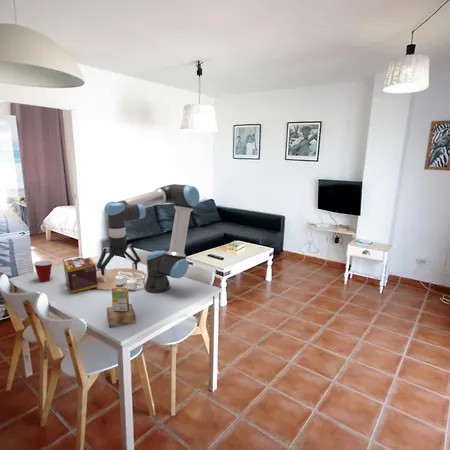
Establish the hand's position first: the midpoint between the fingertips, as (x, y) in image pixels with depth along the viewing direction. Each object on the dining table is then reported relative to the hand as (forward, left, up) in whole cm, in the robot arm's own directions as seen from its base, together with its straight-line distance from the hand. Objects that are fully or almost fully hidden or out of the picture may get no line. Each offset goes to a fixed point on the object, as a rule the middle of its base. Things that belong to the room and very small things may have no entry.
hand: (120, 278), depth 153 cm
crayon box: (0, 0, -17) cm, 17 cm away
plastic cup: (+29, -75, -21) cm, 83 cm away
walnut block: (+1, 0, -22) cm, 22 cm away
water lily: (+1, -58, -19) cm, 61 cm away
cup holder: (-15, -39, -21) cm, 47 cm away
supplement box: (+11, -50, -20) cm, 55 cm away
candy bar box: (+13, -59, -21) cm, 64 cm away
